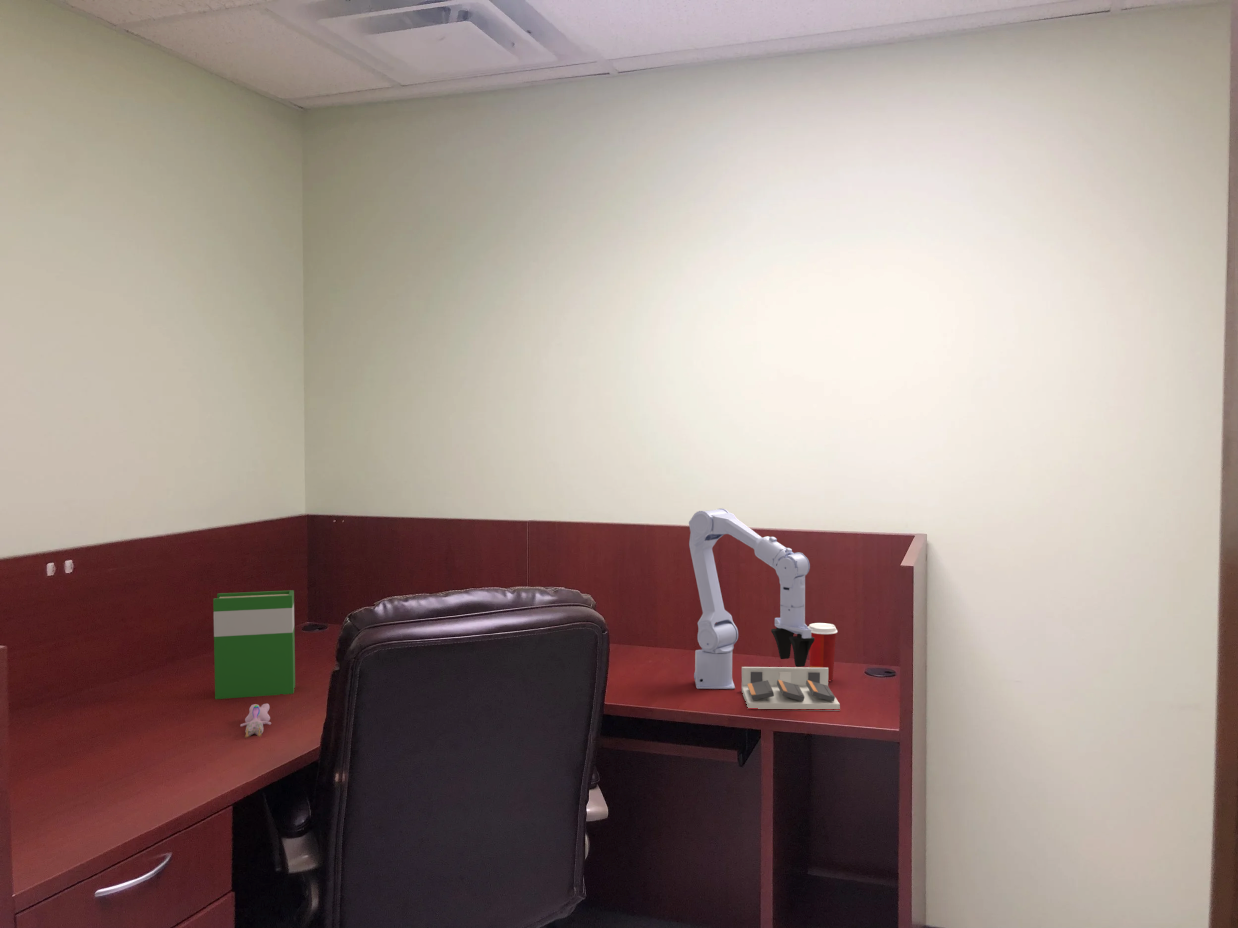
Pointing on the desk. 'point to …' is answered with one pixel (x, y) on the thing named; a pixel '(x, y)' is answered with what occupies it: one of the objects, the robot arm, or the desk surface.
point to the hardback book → (254, 644)
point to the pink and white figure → (256, 719)
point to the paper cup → (823, 647)
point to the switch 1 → (760, 690)
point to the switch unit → (791, 676)
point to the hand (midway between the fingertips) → (792, 662)
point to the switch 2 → (790, 690)
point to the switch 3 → (820, 690)
